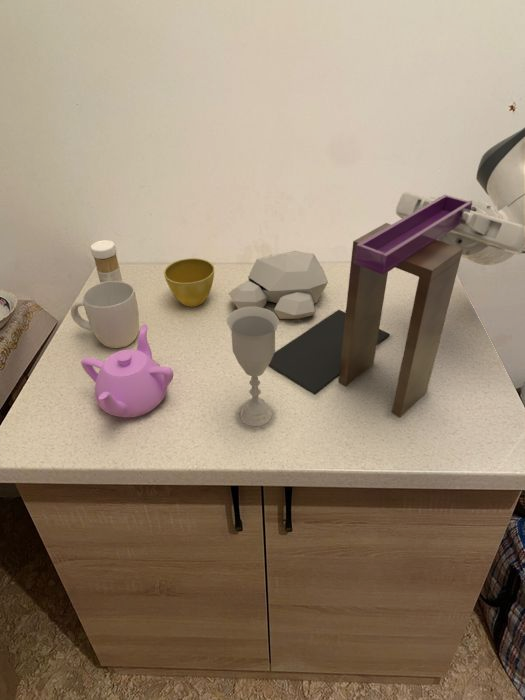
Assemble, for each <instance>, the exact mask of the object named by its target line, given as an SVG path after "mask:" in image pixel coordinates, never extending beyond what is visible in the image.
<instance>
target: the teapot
mask: <svg viewBox="0 0 525 700" xmlns="http://www.w3.org/2000/svg"><path fill="white" fill-rule="evenodd" d="M147 333H148V324H147V323H146V324H145V323H144V324H143V325H142V326H141V327H140V330H139V331H138V337H137V338H138V339H137V347H136V349H124V350H119V351H117V352H114V353H112V354H111V355H109V356H108V357H107V358H106V359H105V360H104V361H103V360H100V359H98V358H95V357H91V356H86V357H83V358H82V359H81V361H80V364H81V367H82V368H83V370H84V371H85V373H86V374H87V375H88V376H89V377H90V379H91V380H92V381H93V382H94V384H95V385H94V397H95V401H96V404H97V406H99V408H100V409H102V411H104V412H105V413H106V414H109V415H112V416H114V417H118V418H127V419H128V418H136V417H141V416H144V415H146V414H148V413H150V412H151V411H153V410H154V409H156V408H157V406H159V405H160V404H161V403H162V401H163V400H164V398H165V397H166V394H167V391H168V387H169V385H170V384H171V382H172V381H173V378H174V371H173V369H172V368H171V367H169V366H162V365H161V366H160V365H159V364H158V363H157V362H156V361H155V360H154V359H153V353H152V350H151V347H150V344H149V341H148V337H147V335H148V334H147ZM94 367H95V368H97V369H99V371H98V372H97V371H96V369H95V368H94Z"/></svg>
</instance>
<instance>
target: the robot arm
mask: <svg viewBox="0 0 525 700" xmlns="http://www.w3.org/2000/svg"><path fill="white" fill-rule="evenodd" d="M475 178H476V181H477V182H478V184H479V185H480V187H481V188H482V189H483V190H484V192H485V193H486V195H487V196H489V198H490V200H491V201H492V203H493V205H494V207H495V208H496V209H494V207H492V205H490V204H489V203H487V202H485V201H481V200H476V199H475V200H472V199H471V200H469V201H470V202H472V206H471V210H470V212H466V211H464V212H463V214H462V217H461V218H460V220H459V223H460V225H459V226H457V227H456V228H454V229H453V230H451V231H449V232H448V233H446V234H445V235H443V236H442V237H440V238H439V239H437V240H439V241H442V242H445V243H448V244H451V245H454V246H457V247H460V248H463V251H462V255H461V258H463V259H467V260H469V261H471V262H472V263H475V264H478V265H482V266H494V265H499V264H502V263H504V262H506V261H508V260H509V259H511V258H512V257H514V255H521V254H525V127H523V128H522V129H520V130H519V131H517V132H515V133H513V134H511V135H510V136H508V137H506V138H504V139H503V140H501V141H499V142H497V143H496V144H494V145H493V146H491V147H490V148H489V149H488V150H487V151H485V153H483V155H482V156H481V158H480V161H479V164H478V167H477V171H476V177H475ZM439 197H440V196H433V195H432V196H429V197H427V196H424V195H420V194H416V193H414V192H410V191H404V192H403V193H402V194H401V196H400V198H399V200H398V202H397V204H396V207H395V214H396V216H398V217H399V218H400V219H402V218H404V217H406V216H408V215H409V214H411V213H413V212H415V211H416V210H418V209H420V208H422V207H424V206H425V205H427V204H429V203H431V202H432V201H434V200H436V199H438V198H439Z"/></svg>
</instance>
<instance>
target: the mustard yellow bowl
mask: <svg viewBox="0 0 525 700" xmlns="http://www.w3.org/2000/svg"><path fill="white" fill-rule="evenodd" d="M163 275H164V278H165V281H166V283H167V285H168V287H169V290H170V291H171V293H172V294H173V295H174V297H175V298H176V299H177V300H178V302H180V303H181V304H182V305H184V306H185V307H192V308H193V307H197V306H201V305H202V304H204V303H205V302H206V300H207V298H208V297H209V295H210V292H211V289H212V286H213V283H214V277H215V266H214V264H213V263H211V262H210V261H208V260H206V259H202V258H193V257H192V258H184V259H179V260H175V261H174V262H171V263H170V264H169V265H167V266H166V267H165V269H164V271H163Z"/></svg>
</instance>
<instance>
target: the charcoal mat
mask: <svg viewBox="0 0 525 700" xmlns="http://www.w3.org/2000/svg"><path fill="white" fill-rule="evenodd" d="M345 315H346V311H343V310H341V309H337V310H336V311H335V312H333V313H331V314H329V316H327V317H326V318H324V319H322V320H321V321H320V322H318V323H316V324H315V325H313V326H312V327H310V328H309V329H307V330H306V331H304V332H302V333H301V334H300V335H299V336H297V337H295V338H294V339H293V340H291V341H290V342H288V343H287V344H284V345H283V346H281V347H280V348H279V349H277V350H275V352H274V355H273V357H272V359H271V362H270V364H269V365H268V367H269V368H271V369H273V370H274V371H276V372H277V373H279V374H281V375H282V376H283V377H286V378H287V379H288V380H290V381H292V382H293V383H295V384H297V385H298V386H300V387H302V388H303V389H305V390H306V391H308V392H310V393H312V394H313V395H317V394H318V393H319V392H320V391H321V390H323V389H324V388H325V387H327V385H329V384H330V383H331V382H333V381H334V380H335V379H336V378H339V373H340V363H341V354H342V344H343V335H344V325H345ZM390 335H391V334H390V333H389V332H388V331H385V330H382V329H381V328H379V333H378V339H377V345H376V347H377V346H379V345H380V344H381V343H382V342H383V341H385V340H386V339H388V337H390Z"/></svg>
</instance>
